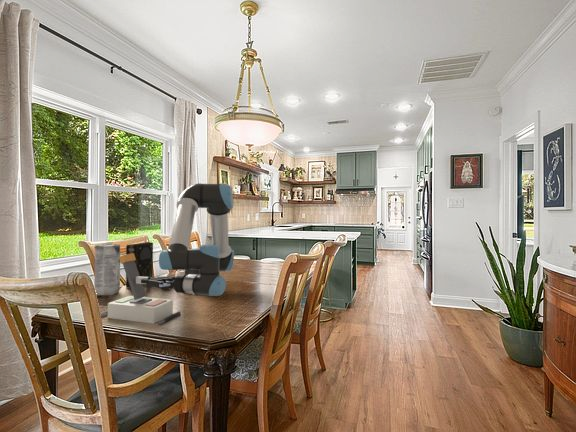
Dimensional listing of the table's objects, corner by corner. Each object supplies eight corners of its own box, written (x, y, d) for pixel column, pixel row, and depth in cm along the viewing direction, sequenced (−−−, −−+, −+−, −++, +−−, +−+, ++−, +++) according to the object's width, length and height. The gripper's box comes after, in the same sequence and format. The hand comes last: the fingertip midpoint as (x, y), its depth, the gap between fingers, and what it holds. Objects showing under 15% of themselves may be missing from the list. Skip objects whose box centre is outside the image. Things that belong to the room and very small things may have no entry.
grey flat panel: (181, 314, 133) (181, 311, 133) (160, 325, 120) (160, 321, 120) (124, 307, 141) (124, 304, 141) (99, 317, 128) (99, 313, 128)
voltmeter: (137, 289, 174) (137, 244, 173) (123, 288, 175) (123, 244, 175) (154, 283, 189) (154, 242, 189) (141, 282, 191) (142, 241, 190)
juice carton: (113, 296, 160) (114, 243, 160) (92, 296, 159) (92, 243, 159) (121, 291, 169) (121, 241, 169) (101, 291, 168) (101, 241, 168)
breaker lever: (147, 295, 133) (133, 253, 135) (137, 299, 127) (123, 255, 129) (143, 297, 134) (129, 255, 135) (133, 300, 128) (118, 256, 130)
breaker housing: (172, 314, 133) (172, 298, 133) (153, 323, 122) (153, 306, 122) (129, 309, 139) (129, 294, 139) (107, 317, 128) (107, 301, 128)
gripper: (177, 297, 118) (125, 292, 124) (195, 289, 131) (147, 285, 137) (177, 277, 118) (125, 273, 124) (196, 271, 131) (147, 268, 137)
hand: (136, 279), depth 130 cm, fingers closed
